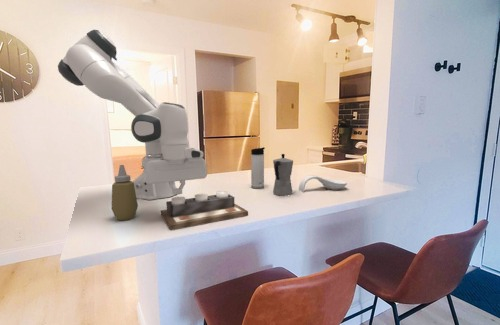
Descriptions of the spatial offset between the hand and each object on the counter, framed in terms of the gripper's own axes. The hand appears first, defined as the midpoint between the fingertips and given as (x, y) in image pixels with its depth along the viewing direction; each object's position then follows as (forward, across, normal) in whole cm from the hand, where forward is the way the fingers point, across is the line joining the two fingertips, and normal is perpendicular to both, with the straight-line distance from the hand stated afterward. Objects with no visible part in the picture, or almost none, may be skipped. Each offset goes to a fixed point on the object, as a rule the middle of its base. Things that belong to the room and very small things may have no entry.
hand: (177, 194), depth 89 cm
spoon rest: (+9, +70, +5) cm, 71 cm away
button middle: (+5, +8, 0) cm, 9 cm away
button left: (+4, 0, 0) cm, 5 cm away
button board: (+8, +8, -2) cm, 12 cm away
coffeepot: (+8, +48, +8) cm, 49 cm away
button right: (+5, +16, 0) cm, 17 cm away
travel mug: (+8, +45, +24) cm, 51 cm away
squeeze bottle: (+8, -16, +8) cm, 20 cm away
